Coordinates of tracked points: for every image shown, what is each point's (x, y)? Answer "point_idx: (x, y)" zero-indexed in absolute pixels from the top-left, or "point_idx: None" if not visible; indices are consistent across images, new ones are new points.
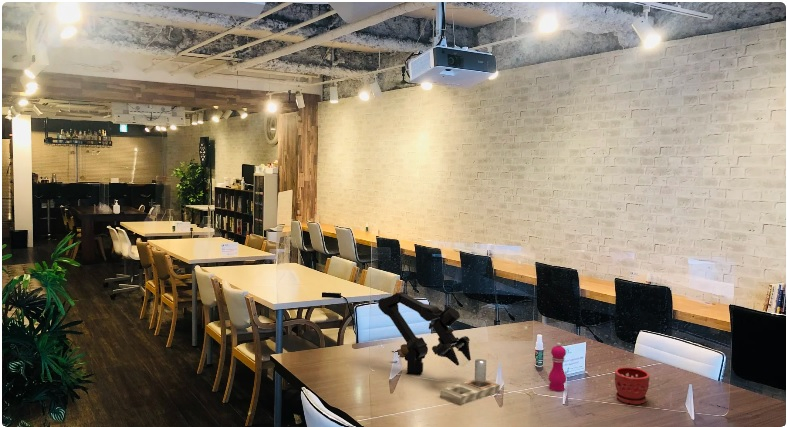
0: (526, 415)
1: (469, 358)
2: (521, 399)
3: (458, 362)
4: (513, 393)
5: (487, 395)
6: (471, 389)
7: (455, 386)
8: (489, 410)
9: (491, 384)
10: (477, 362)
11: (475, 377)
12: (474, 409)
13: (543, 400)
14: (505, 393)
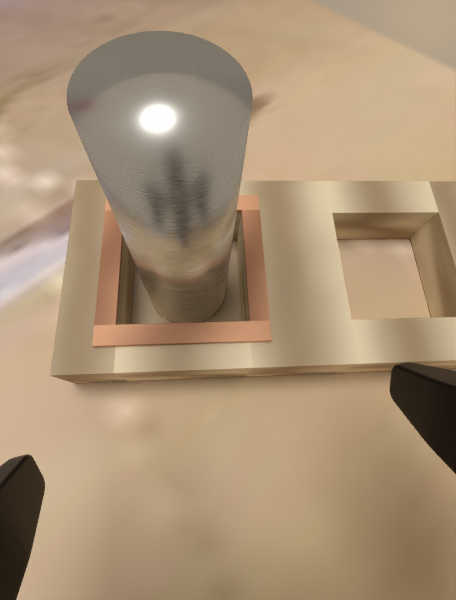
0: (243, 4)
1: (21, 481)
2: None
3: (423, 370)
4: (49, 157)
5: None
6: (317, 232)
7: (387, 340)
8: (344, 100)
9: None
10: (251, 95)
11: (231, 247)
12: (402, 141)
13: (25, 36)
14: None
